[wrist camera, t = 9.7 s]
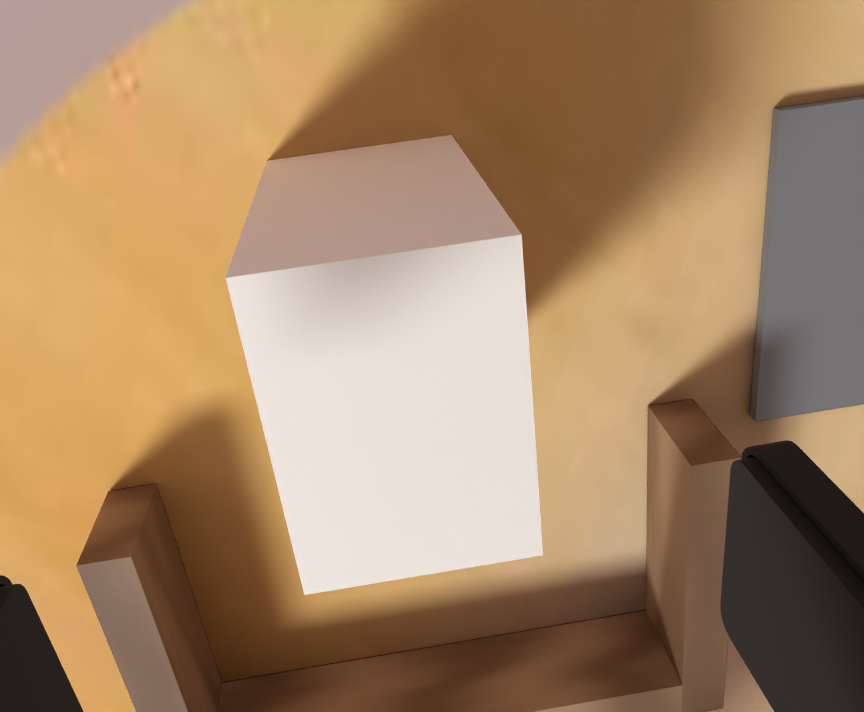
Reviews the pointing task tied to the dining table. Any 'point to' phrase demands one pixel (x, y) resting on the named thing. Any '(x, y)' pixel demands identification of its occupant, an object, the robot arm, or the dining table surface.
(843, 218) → the rubber mat
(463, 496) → the white box
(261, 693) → the frame
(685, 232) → the dining table surface
